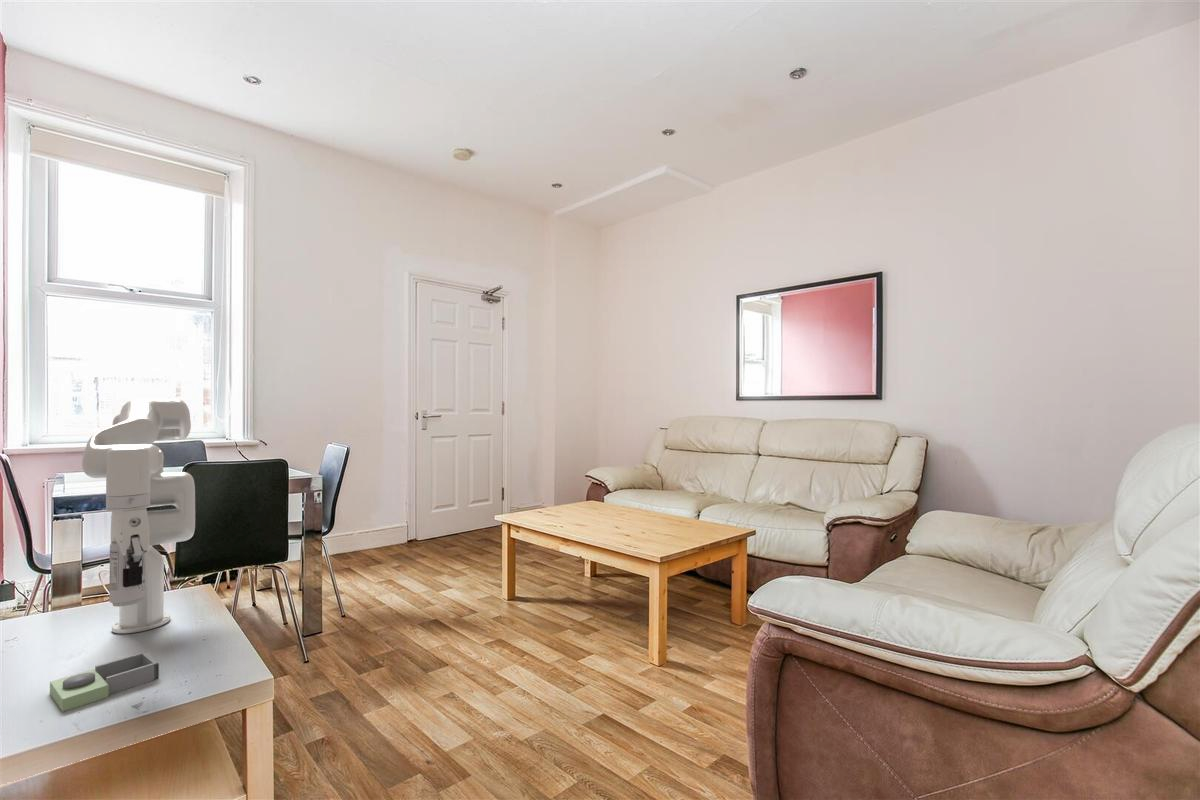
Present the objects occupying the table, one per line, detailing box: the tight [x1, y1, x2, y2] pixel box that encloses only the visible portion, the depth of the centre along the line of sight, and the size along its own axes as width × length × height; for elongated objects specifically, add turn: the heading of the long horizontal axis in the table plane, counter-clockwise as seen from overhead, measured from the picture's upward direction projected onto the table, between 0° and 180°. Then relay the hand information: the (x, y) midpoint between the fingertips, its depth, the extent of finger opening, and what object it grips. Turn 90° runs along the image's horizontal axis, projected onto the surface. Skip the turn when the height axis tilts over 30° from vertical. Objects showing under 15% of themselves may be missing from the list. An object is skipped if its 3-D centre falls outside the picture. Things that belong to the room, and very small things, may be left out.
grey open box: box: [49, 651, 160, 713], centre depth 119 cm, size 12×16×4 cm
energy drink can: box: [108, 538, 145, 607], centre depth 122 cm, size 6×6×15 cm
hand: (127, 581), depth 122 cm, fingers closed on energy drink can, 6 cm apart
